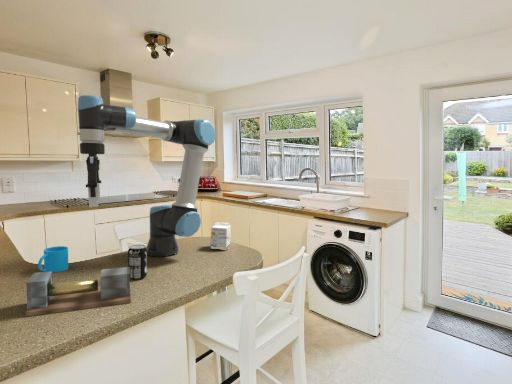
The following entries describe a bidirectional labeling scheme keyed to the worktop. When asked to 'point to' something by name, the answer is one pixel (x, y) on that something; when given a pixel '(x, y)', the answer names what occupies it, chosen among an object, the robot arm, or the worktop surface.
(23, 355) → the worktop surface
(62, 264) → the mug
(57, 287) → the tube
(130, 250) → the beverage can
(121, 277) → the rig
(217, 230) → the ink box
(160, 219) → the robot arm
